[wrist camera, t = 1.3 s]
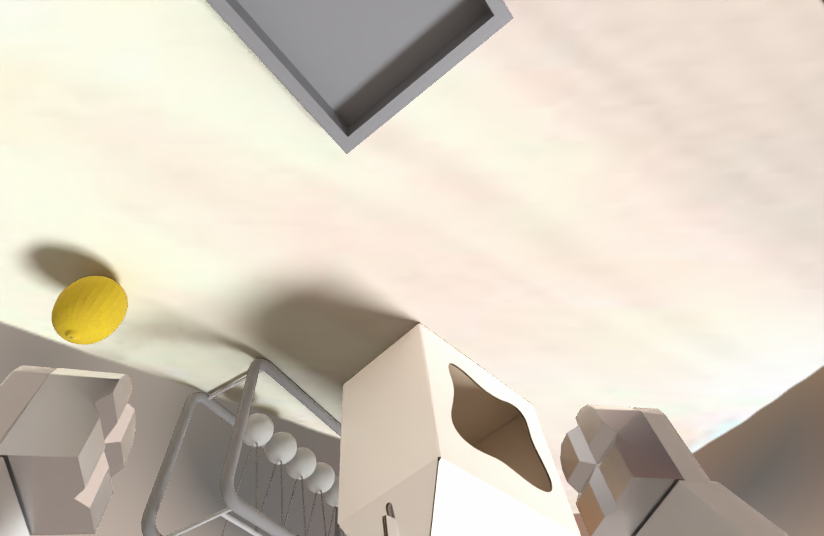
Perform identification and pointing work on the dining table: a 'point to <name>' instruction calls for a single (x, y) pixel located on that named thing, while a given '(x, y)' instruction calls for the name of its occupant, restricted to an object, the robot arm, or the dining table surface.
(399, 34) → the grey tray
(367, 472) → the gable box
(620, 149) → the dining table surface
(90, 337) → the lemon
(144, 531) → the newton's cradle
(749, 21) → the dining table surface
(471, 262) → the dining table surface
